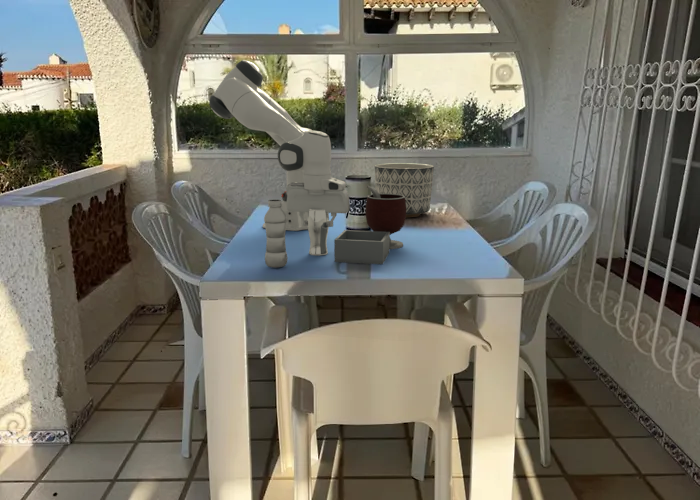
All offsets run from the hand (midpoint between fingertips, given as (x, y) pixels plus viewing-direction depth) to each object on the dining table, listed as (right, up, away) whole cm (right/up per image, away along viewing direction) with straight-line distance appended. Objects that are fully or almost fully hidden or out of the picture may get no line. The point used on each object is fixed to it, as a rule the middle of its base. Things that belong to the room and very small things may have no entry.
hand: (318, 226), depth 187 cm
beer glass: (0, -9, +2) cm, 9 cm away
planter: (+34, +8, +74) cm, 82 cm away
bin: (+14, -10, -3) cm, 18 cm away
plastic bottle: (-11, -13, -15) cm, 23 cm away
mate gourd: (+22, -6, +15) cm, 27 cm away
